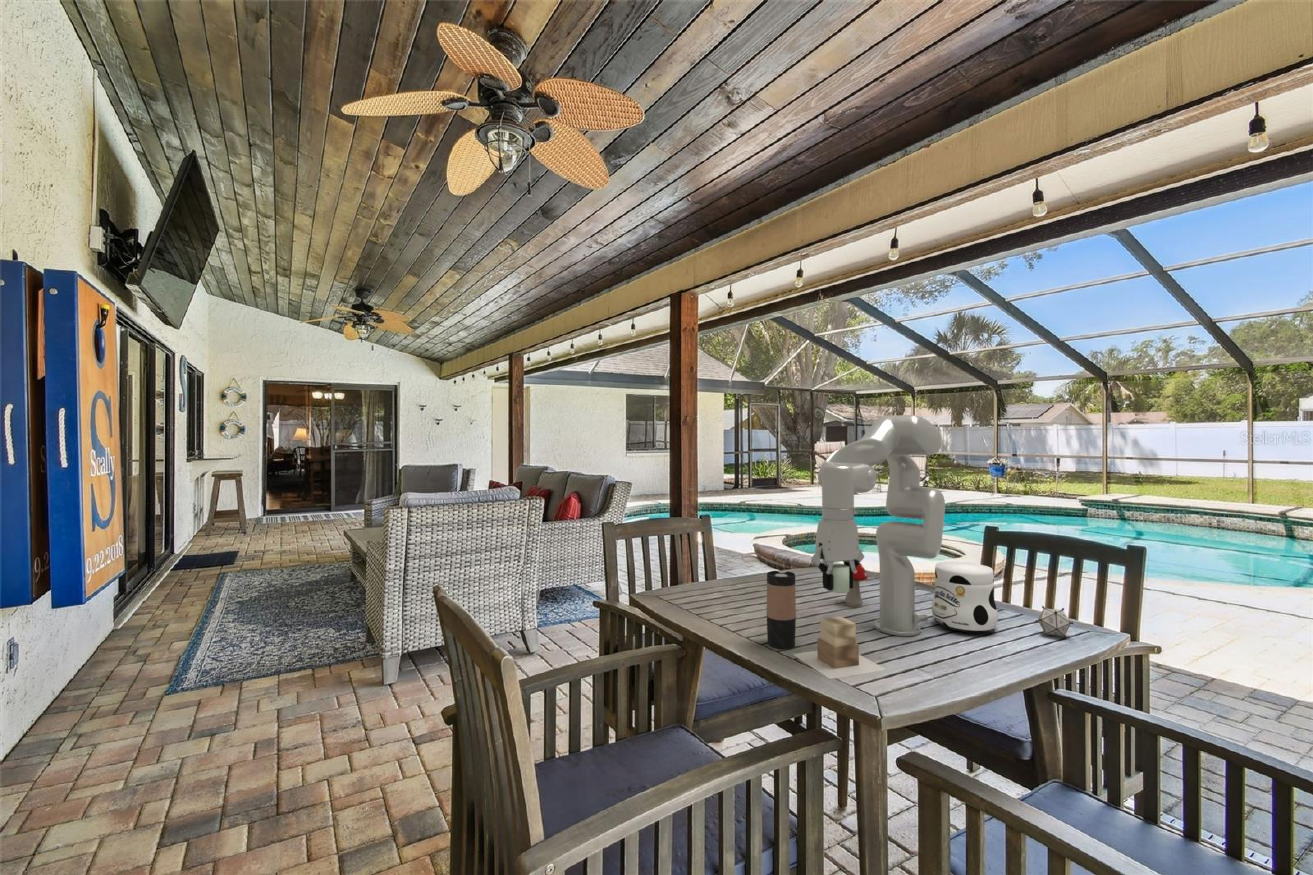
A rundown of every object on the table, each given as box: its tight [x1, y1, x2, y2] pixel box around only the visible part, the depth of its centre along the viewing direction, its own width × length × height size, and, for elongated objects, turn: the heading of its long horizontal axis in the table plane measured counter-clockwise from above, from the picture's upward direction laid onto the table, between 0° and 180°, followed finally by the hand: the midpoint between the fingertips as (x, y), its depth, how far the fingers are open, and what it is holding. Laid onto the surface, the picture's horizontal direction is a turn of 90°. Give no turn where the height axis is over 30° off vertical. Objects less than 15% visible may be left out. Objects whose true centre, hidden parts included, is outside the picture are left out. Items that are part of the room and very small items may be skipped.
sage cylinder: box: [827, 563, 849, 594], centre depth 142 cm, size 5×5×6 cm
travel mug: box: [766, 570, 797, 651], centre depth 154 cm, size 8×8×20 cm
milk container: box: [931, 561, 999, 634], centre depth 170 cm, size 17×17×18 cm
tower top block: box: [819, 616, 857, 647], centre depth 142 cm, size 6×6×5 cm
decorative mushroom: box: [844, 562, 869, 608], centre depth 194 cm, size 10×9×15 cm
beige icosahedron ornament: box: [1035, 605, 1075, 640], centre depth 163 cm, size 9×8×10 cm
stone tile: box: [792, 650, 888, 680], centre depth 142 cm, size 16×16×1 cm
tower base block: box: [816, 637, 860, 669], centre depth 142 cm, size 7×7×5 cm
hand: (838, 587), depth 142 cm, fingers closed on sage cylinder, 5 cm apart
